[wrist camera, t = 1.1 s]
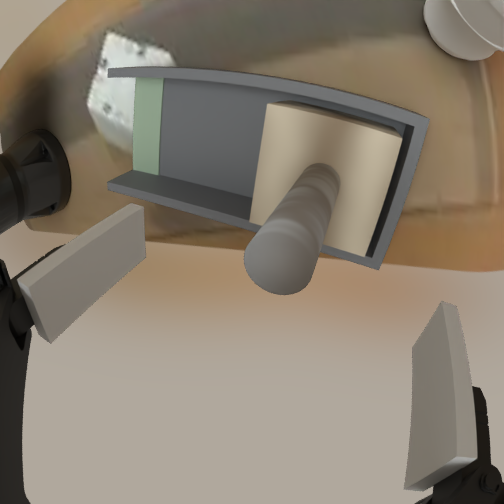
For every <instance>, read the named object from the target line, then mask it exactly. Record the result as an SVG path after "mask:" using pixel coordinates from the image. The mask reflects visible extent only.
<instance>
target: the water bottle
mask: <svg viewBox="0 0 504 504" xmlns="http://www.w3.org/2000/svg"><path fill="white" fill-rule="evenodd" d="M423 14H424V20H425V22H426V24H427V27H428V29H429V33H430V35H431V37H432V39H433V40H434V41H435V43H436V44H437V45H438V46H439V47H440V48H441V49H443V50H444V51H446V52H447V53H448V54H450V55H452V56H454V57H457V58H461V59H466V60H470V61H473V60H482V59H486V58H488V57H490V56H491V55H492V54H493V53H494V52H495V51H497V50H500V51H503V52H504V0H426V2H425V5H424V12H423Z"/></svg>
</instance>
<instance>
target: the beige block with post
mask: <svg viewBox="0 0 504 504" xmlns="http://www.w3.org/2000/svg"><path fill="white" fill-rule="evenodd" d="M401 143H402V137H401V136H400V134H399V133H398V132H397V130H396V129H395V128H394V127H392V126H389V125H386V124H383V123H379V122H376V121H373V120H369V119H366V118H363V117H359V116H355V115H352V114H348V113H344V112H341V111H337V110H333V109H329V108H325V107H320V106H316V105H312V104H307V103H303V102H298V101H293V100H285V101H279V102H273V103H268V104H267V109H266V115H265V122H264V128H263V135H262V141H261V148H260V154H259V161H258V167H257V174H256V180H255V187H254V193H253V200H252V207H251V213H250V220H249V222H251V223H254V224H257V225H261V226H262V227H261V228H260V230H259V231H258V232H257V234H256V235H255V236H254V238H253V239H252V240H251V242H250V243H249V244H248V246H247V248H246V250H245V253H244V265H245V268H246V271H247V273H248V275H249V276H250V278H251V279H252V280H253V281H254V282H255V283H256V284H257V285H258V286H259V287H261V288H262V289H264V290H266V291H268V292H271V293H274V294H278V295H289V294H294V293H297V292H299V291H301V290H302V289H304V288H305V287H306V286H307V285H308V283H309V282H310V280H311V278H312V275H313V272H314V269H315V266H316V262H317V260H318V257H319V254H320V251H321V247H322V244H324V245H327V246H331V247H334V248H337V249H340V250H343V251H347V252H350V253H353V254H356V255H359V256H362V257H365V254H366V252H367V249H368V246H369V244H370V241H371V238H372V235H373V232H374V230H375V227H376V224H377V221H378V218H379V215H380V212H381V209H382V206H383V203H384V200H385V197H386V194H387V191H388V187H389V184H390V181H391V178H392V174H393V171H394V167H395V164H396V161H397V157H398V154H399V150H400V146H401Z"/></svg>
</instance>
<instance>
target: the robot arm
mask: <svg viewBox="0 0 504 504" xmlns="http://www.w3.org/2000/svg"><path fill="white" fill-rule="evenodd" d="M70 188H71V180H70V172H69V167H68V163H67V159H66V156H65V154H64V151H63V149H62V147H61V145H60V144H59V142H58V141H57V139H56V138H55V137H54V136H53V135H52V134H51V133H50V132H48V131H46V130H43V129H38V130H35V131H32V132H29V133H27V134H25V135H24V136H22V137H21V138H20V139H19V140H18V141H16V142H15V143H14V144H13V145H12V146H10V147H9V148H8V149H7V150H6V151H5V152H4V153H2V154H0V234H2V233H3V232H5V231H6V230H8V229H9V228H11V227H12V226H14V225H16V224H17V223H19V222H21V221H22V220H25V219H31V218H37V217H43V216H49V215H52V214H54V213H56V212H58V211H59V210H61V209H63V208H64V207H65V205H66V204H67V202H68V199H69V196H70ZM145 249H146V248H145V228H144V207H143V206H140V205H136V204H133V203H130V204H128V205H127V206H125V207H123V208H122V209H120V210H118V211H117V212H115V213H113V214H112V215H110V216H109V217H107V218H105V219H104V220H102V221H101V222H99V223H97V224H96V225H94V226H93V227H91V228H90V229H88V230H87V231H85V232H83V233H82V234H80V235H79V236H77V237H76V238H75V239H73V240H71V241H70V242H68V243H67V244H64V245H62V246H59V247H56V248H54V249H53V250H51V251H50V252H48V253H47V254H46V255H45V256H43V257H41V258H40V259H38V261H35V262H34V263H33V264H31V265H30V266H29V267H27V268H26V269H24V270H23V271H22V272H20V273H19V274H18V275H16V276H15V277H14V278H12V279H11V280H10V277H9V274H8V271H7V268H6V265H5V263H4V261H3V260H1V259H0V504H30V502H29V500H28V499H27V498H26V495H25V492H24V482H23V463H22V424H23V404H24V403H23V402H24V389H25V380H26V371H27V363H28V355H29V348H30V343H31V337H32V333H31V329H30V328H31V327H32V326H33V325H35V327H36V329H37V331H38V334H39V335H40V336H41V337H42V338H44V339H45V340H47V341H48V342H49V343H50V344H51V343H52V342H53V341H54V340H55V339H56V338H57V337H58V336H59V335H60V334H62V333H63V332H64V331H65V330H66V329H67V328H68V327H69V326H70V325H71V324H72V323H73V322H74V321H75V320H76V319H77V318H78V317H79V316H81V315H82V314H83V313H84V312H85V311H86V310H87V309H88V308H89V307H90V306H91V305H93V304H94V303H95V302H96V301H97V300H98V299H99V298H100V297H101V296H102V295H104V294H105V293H106V292H107V291H108V290H109V289H110V288H111V287H113V286H114V285H115V284H116V283H117V282H118V281H119V280H120V279H122V277H124V276H125V275H126V274H127V273H128V272H130V271H131V270H132V269H133V268H134V267H135V266H137V265H138V264H139V263H140V262H141V261H142V260H144V259H145V258H146V250H145ZM412 358H413V359H412V363H413V377H412V413H411V429H410V441H409V452H408V461H407V470H406V477H405V484H404V489H405V490H414V491H425V490H426V489H428V488H430V487H432V486H434V487H433V494H432V495H430V496H428V497H426V498H424V499H422V500H420V501H418V502H417V503H415V504H421V503H422V504H504V483H503V482H502V477H501V474H500V472H499V470H498V469H497V468H496V467H495V466H493V465H491V457H490V456H491V454H490V437H489V426H488V416H487V406H486V400H485V398H484V396H483V393H482V391H481V389H480V388H478V387H474V386H472V382H471V375H470V368H469V362H468V357H467V351H466V345H465V340H464V335H463V331H462V326H461V322H460V318H459V313H458V309H457V306H455V305H453V304H449V303H446V302H444V301H441V303H440V304H439V306H438V308H437V310H436V311H435V313H434V315H433V317H432V318H431V319H430V321H429V323H428V324H427V326H426V327H425V329H424V331H423V332H422V334H421V336H420V337H419V338H418V340H417V341H416V343H415V344H414V346H413V348H412Z"/></svg>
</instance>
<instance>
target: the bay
mask: <svg viewBox="0 0 504 504" xmlns="http://www.w3.org/2000/svg"><path fill="white" fill-rule="evenodd" d="M112 77H136V83H135V100H134V123H133V170H131V171H129V172H127V173H125V174H123V175H121V176H119V177H116V178H114V179H112V180H110V181H108V182H107V184H108V190H110V191H113V192H117V193H121V194H124V195H128V196H132V197H135V198H139V199H142V200H146V201H149V202H153V203H157V204H160V205H164V206H167V207H171V208H174V209H178V210H181V211H185V212H188V213H192V214H195V215H199V216H202V217H205V218H209V219H212V220H216V221H219V222H223V223H226V224H229V225H233V226H236V227H240V228H243V229H246V230H250V231H253V232H256V233H257V232H258V231H259V230H260V228H261V227H262V226H261V225H257V224H254V223H251V222H249V220H250V213H251V207H252V200H253V193H254V187H255V180H256V174H257V167H258V161H259V154H260V148H261V141H262V135H263V128H264V122H265V115H266V109H267V104H268V103H273V102H279V101H285V100H293V101H298V102H303V103H307V104H312V105H316V106H320V107H325V108H329V109H333V110H337V111H341V112H344V113H348V114H352V115H355V116H359V117H363V118H366V119H369V120H373V121H376V122H379V123H383V124H386V125H389V126H392V127H394V128H395V129H396V130H397V132H398V133H399V134H400V136H401V137H402V143H401V146H400V150H399V154H398V157H397V161H396V164H395V167H394V171H393V174H392V178H391V181H390V184H389V187H388V191H387V194H386V197H385V200H384V203H383V206H382V209H381V212H380V215H379V218H378V221H377V224H376V227H375V230H374V232H373V235H372V238H371V241H370V244H369V246H368V249H367V252H366V254H365V257H362V256H359V255H356V254H353V253H350V252H347V251H343V250H340V249H337V248H334V247H331V246H327V245H324V244H322V247H321V251H320V252H322V253H325V254H328V255H332V256H335V257H338V258H341V259H344V260H348V261H351V262H354V263H357V264H361V265H364V266H367V267H370V268H373V269H376V270H379V269H380V266H381V264H382V261H383V259H384V256H385V254H386V251H387V249H388V246H389V244H390V241H391V239H392V236H393V233H394V231H395V228H396V225H397V223H398V220H399V217H400V214H401V212H402V209H403V206H404V203H405V200H406V197H407V194H408V191H409V188H410V185H411V182H412V179H413V176H414V173H415V170H416V166H417V163H418V160H419V156H420V153H421V149H422V146H423V142H424V139H425V135H426V131H427V127H428V124H429V120H430V119H429V118H427V117H425V116H422V115H420V114H418V113H416V112H413V111H410V110H407V109H404V108H401V107H398V106H395V105H392V104H389V103H386V102H382V101H379V100H376V99H372V98H369V97H365V96H362V95H358V94H354V93H351V92H347V91H343V90H339V89H335V88H330V87H326V86H321V85H317V84H312V83H307V82H302V81H297V80H292V79H286V78H280V77H274V76H268V75H261V74H254V73H246V72H237V71H228V70H217V69H205V68H189V67H154V66H145V67H123V68H109V69H108V78H112Z"/></svg>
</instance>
